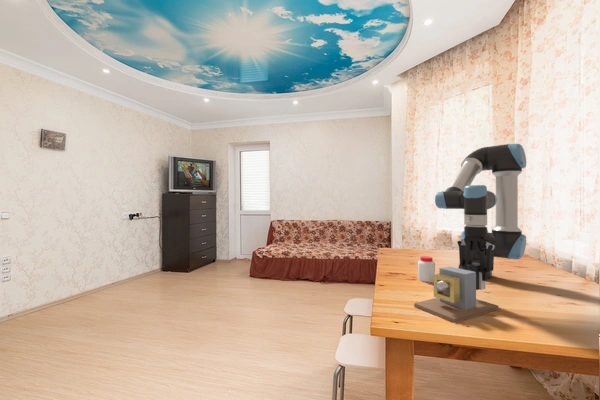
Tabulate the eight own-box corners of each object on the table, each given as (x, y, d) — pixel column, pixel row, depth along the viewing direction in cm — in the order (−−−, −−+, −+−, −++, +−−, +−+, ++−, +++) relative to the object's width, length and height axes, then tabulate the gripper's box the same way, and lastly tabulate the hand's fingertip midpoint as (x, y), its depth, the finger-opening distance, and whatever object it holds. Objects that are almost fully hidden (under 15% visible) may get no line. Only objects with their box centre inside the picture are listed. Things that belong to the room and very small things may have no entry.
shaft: (474, 285, 114) (474, 262, 114) (485, 288, 111) (485, 264, 111) (433, 294, 104) (433, 269, 104) (443, 298, 100) (443, 272, 100)
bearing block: (456, 295, 119) (456, 262, 119) (498, 309, 104) (498, 271, 104) (414, 306, 108) (413, 269, 108) (454, 322, 94) (454, 280, 93)
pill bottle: (437, 282, 138) (436, 259, 138) (419, 281, 139) (419, 258, 139) (433, 278, 145) (432, 255, 145) (416, 277, 147) (416, 255, 147)
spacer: (439, 295, 108) (439, 273, 108) (459, 301, 101) (459, 278, 101) (433, 296, 107) (433, 274, 107) (454, 303, 100) (453, 279, 99)
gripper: (448, 224, 117) (449, 283, 117) (493, 228, 102) (493, 295, 102) (460, 223, 121) (461, 280, 121) (505, 227, 105) (506, 292, 106)
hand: (476, 287), depth 112 cm, fingers closed on shaft, 4 cm apart
